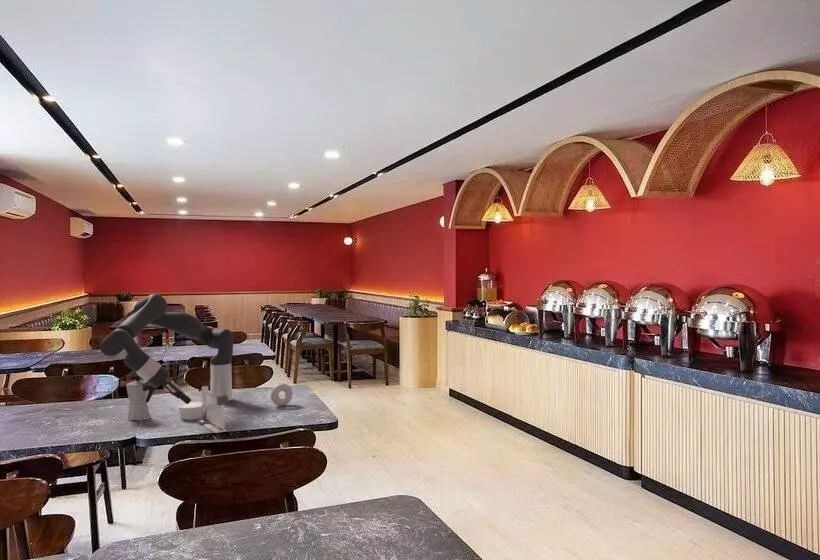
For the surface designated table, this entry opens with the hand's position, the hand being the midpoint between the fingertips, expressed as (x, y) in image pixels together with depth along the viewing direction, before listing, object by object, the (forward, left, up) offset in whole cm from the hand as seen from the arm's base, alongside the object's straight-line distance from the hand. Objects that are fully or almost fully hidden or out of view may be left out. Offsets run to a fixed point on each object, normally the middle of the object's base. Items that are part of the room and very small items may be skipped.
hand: (189, 401), depth 216 cm
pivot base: (-11, +12, -12) cm, 20 cm away
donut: (-10, +48, -12) cm, 51 cm away
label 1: (-4, +11, -12) cm, 17 cm away
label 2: (+3, +10, -12) cm, 16 cm away
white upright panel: (-2, +11, -11) cm, 15 cm away
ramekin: (-23, +13, -13) cm, 29 cm away
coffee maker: (-38, -2, -12) cm, 40 cm away
